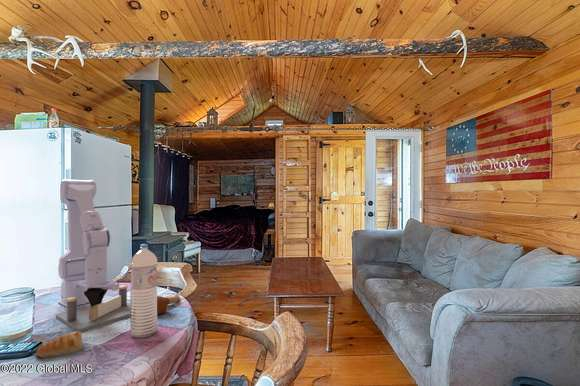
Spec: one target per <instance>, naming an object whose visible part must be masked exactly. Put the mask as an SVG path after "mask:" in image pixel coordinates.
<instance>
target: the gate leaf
mask: <svg viewBox="0 0 580 386" xmlns="http://www.w3.org/2000/svg"><path fill="white" fill-rule="evenodd" d="M119 307H121V295H119V294H117V295H116V296H113V297H111V298H109V299H106V300H105V301H102V302H101V303H100V304H97V305H95V306H92V307H90V308H89V320H96V319H98V318H99V317H101V316H103V315H105V314H107V313H109V312H111V311H113V310H115V309H117V308H119Z"/></svg>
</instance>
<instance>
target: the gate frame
mask: <svg viewBox="0 0 580 386" xmlns="http://www.w3.org/2000/svg"><path fill="white" fill-rule="evenodd" d="M118 295H121V307H119V308H117V309H115V310H113V311H111V312H109V313H107V314H105V315H103V316H101V317H99V318H98V319H96V320H89V308H90V307H91V305H87V306H83V307H80V308H77V307H78V306H77V300H78V298H77V297H71V298H67V299H66V302H67V307H66V311H64V312H61V313H57V314H55V319H57V320H59V321H60V322H61V323H63V324H65V325H67V326H68V327H70V328H71V329H73V330H74V331H76V332H81V333H83V332H86V331H89V330H90V331H91V330H92V329H95V328H98V327H102V326H106V325H107V324H112V323H115V322H117V321H121V320H123V319H127V318H131V317H130V316H131V314H130V312H131V311H130V309H131V307H130V306H131V304H130V303H131V302H128V298H127V297H128V285H124V284H123V285H119V289H118Z"/></svg>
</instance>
